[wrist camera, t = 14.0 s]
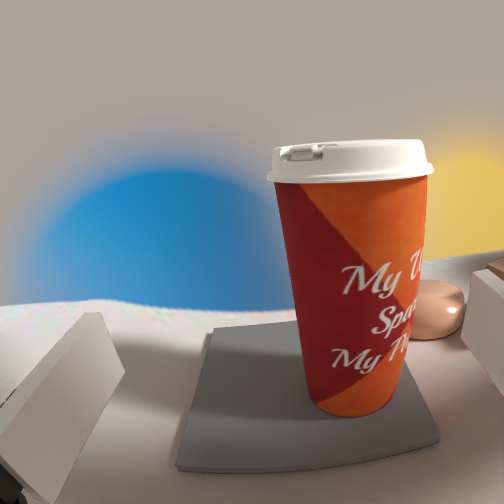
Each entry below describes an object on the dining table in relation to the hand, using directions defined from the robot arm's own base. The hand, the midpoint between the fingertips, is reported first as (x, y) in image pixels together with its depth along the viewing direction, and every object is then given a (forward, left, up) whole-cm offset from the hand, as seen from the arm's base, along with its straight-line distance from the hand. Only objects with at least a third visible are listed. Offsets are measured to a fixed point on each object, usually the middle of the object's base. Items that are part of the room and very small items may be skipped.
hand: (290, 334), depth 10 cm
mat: (0, -7, -9) cm, 12 cm away
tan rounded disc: (-11, -13, -9) cm, 19 cm away
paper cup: (-3, -6, -9) cm, 11 cm away
